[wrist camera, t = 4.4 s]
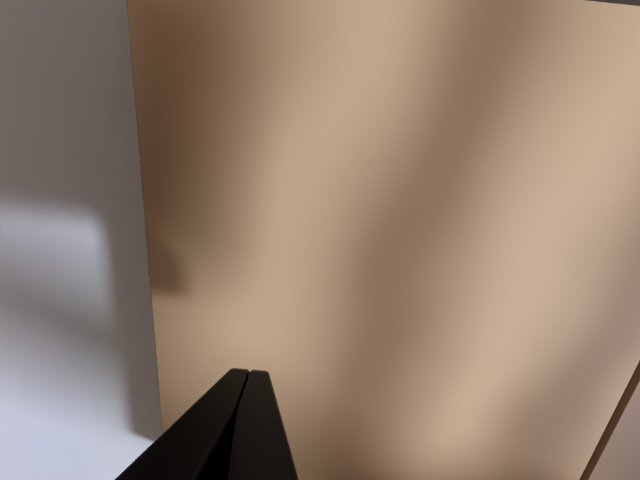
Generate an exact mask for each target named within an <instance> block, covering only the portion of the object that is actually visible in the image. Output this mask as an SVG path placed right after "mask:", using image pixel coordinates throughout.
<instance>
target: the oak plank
mask: <svg viewBox="0 0 640 480" xmlns="http://www.w3.org/2000/svg"><path fill="white" fill-rule="evenodd" d="M127 6H128V19H129V31H130V43H131V55H132V67H133V79H134V91H135V103H136V115H137V128H138V140H139V152H140V164H141V176H142V188H143V200H144V212H145V224H146V237H147V249H148V261H149V273H150V285H151V297H152V309H153V321H154V333H155V346H156V358H157V370H158V382H159V394H160V406H161V418H162V430H163V433H164V432H165V431H166V430H167V429H168V428H169V427H170V426H171V425H172V424H173V423H174V422H175V421H176V420H178V419H179V418H180V417H181V416H182V415H183V414H184V413H185V412H186V411H187V410H188V409H189V408H190V407H191V406H192V405H193V404H194V403H195V402H196V401H197V400H198V399H199V398H200V397H202V396H203V395H204V394H205V393H206V392H207V391H208V390H209V389H210V388H211V387H212V386H213V385H214V384H215V383H216V382H217V381H218V380H219V379H220V378H221V377H222V376H223V375H224V374H226V373H227V372H228V371H229V370H230V369H232V368H241V369H248V370H249V372H250V371H251V370H264V371H268V372H269V374H270V378H271V381H272V385H273V389H274V392H275V396H276V399H277V403H278V407H279V410H280V414H281V417H282V421H283V425H284V428H285V432H286V435H287V439H288V443H289V446H290V450H291V453H292V457H293V460H294V464H295V468H296V471H297V475H298V478H299V480H580V478H581V476H582V474H583V472H584V470H585V468H586V466H587V464H588V462H589V460H590V458H591V456H592V454H593V452H594V450H595V448H596V446H597V444H598V442H599V440H600V438H601V436H602V434H603V432H604V430H605V428H606V426H607V424H608V422H609V420H610V418H611V416H612V414H613V412H614V410H615V408H616V406H617V404H618V402H619V400H620V398H621V396H622V394H623V392H624V390H625V388H626V387H627V385H628V383H629V381H630V379H631V377H632V375H633V373H634V371H635V369H636V367H637V365H638V363H639V361H640V6H634V5H625V4H615V3H606V2H597V1H587V0H127Z"/></svg>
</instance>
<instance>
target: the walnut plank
mask: <svg viewBox="0 0 640 480" xmlns="http://www.w3.org/2000/svg"><path fill="white" fill-rule="evenodd" d="M580 480H640V361H639V363H638V365H637V367H636V369H635V371H634V373H633V375H632V377H631V379H630V381H629V383H628V385H627V387H626V388H625V390H624V392H623V394H622V396H621V398H620V400H619V402H618V404H617V406H616V408H615V410H614V412H613V414H612V416H611V418H610V420H609V422H608V424H607V426H606V428H605V430H604V432H603V434H602V436H601V438H600V440H599V442H598V444H597V446H596V448H595V450H594V452H593V454H592V456H591V458H590V460H589V462H588V464H587V466H586V468H585V470H584V472H583V474H582V476H581V478H580Z"/></svg>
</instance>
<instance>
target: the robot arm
mask: <svg viewBox="0 0 640 480" xmlns="http://www.w3.org/2000/svg"><path fill="white" fill-rule="evenodd" d="M115 480H299V478H298V475H297V471H296V468H295V464H294V460H293V457H292V453H291V450H290V446H289V443H288V439H287V435H286V432H285V428H284V425H283V421H282V417H281V414H280V410H279V407H278V403H277V399H276V396H275V392H274V389H273V385H272V381H271V378H270V374H269V372H268V371H264V370H251V371H250V372H249V370H248V369H241V368H232V369H230V370H229V371H228V372H227V373H226V374H224V375H223V376H222V377H221V378H220V379H219V380H218V381H217V382H216V383H215V384H214V385H213V386H212V387H211V388H210V389H209V390H208V391H207V392H206V393H205V394H204V395H203V396H202V397H200V398H199V399H198V400H197V401H196V402H195V403H194V404H193V405H192V406H191V407H190V408H189V409H188V410H187V411H186V412H185V413H184V414H183V415H182V416H181V417H180V418H179V419H178V420H176V421H175V422H174V423H173V424H172V425H171V426H170V427H169V428H168V429H167V430H166V431H165V432H164V433H163V434H162V435H161V436H160V437H159V438H158V439H157V440H156V441H155V442H154V443H152V444H151V445H150V446H149V447H148V448H147V449H146V450H145V451H144V452H143V453H142V454H141V455H140V456H139V457H138V458H137V459H136V460H135V461H134V462H133V463H132V464H131V465H130V466H128V467H127V468H126V469H125V470H124V471H123V472H122V473H121V474H120V475H119V476H118V477H117V478H116V479H115Z"/></svg>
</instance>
